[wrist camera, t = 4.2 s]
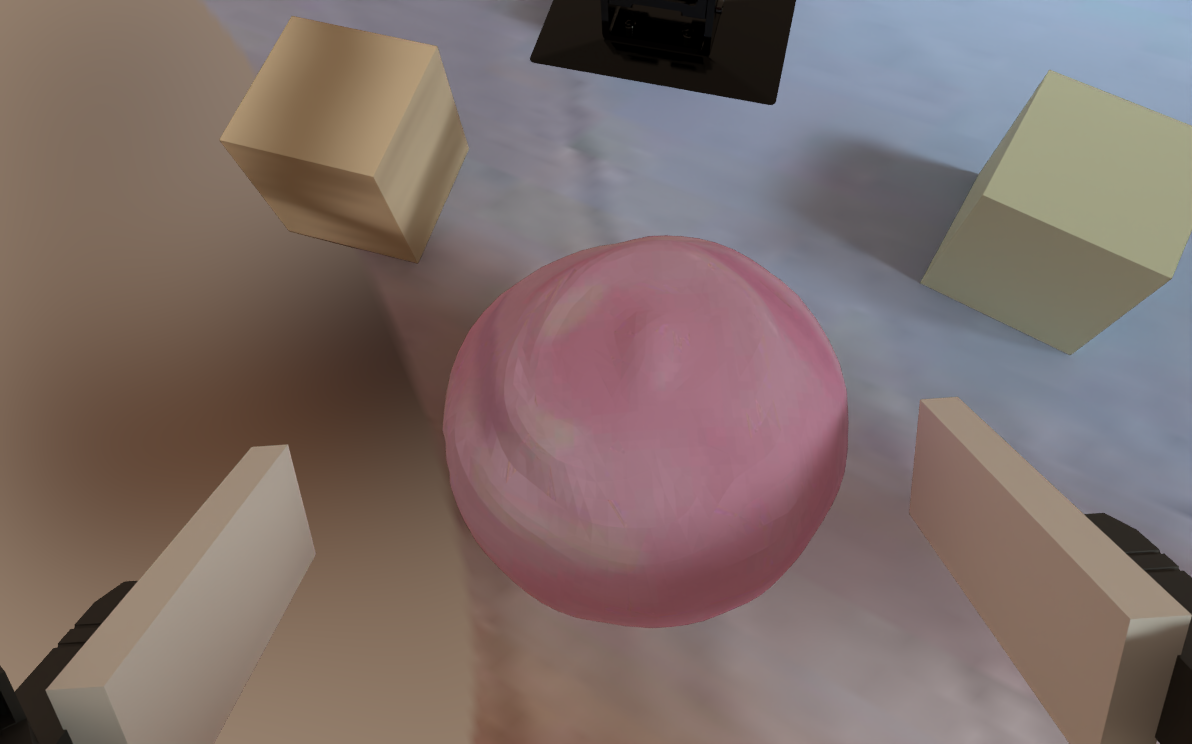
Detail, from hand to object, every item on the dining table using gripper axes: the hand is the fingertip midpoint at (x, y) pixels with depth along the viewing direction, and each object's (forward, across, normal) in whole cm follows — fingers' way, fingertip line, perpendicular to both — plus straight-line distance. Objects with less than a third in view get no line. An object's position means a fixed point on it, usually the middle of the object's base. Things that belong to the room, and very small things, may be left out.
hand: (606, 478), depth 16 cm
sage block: (+11, +14, +1) cm, 18 cm away
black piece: (+19, +3, +8) cm, 21 cm away
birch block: (+14, -8, +4) cm, 17 cm away
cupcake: (+6, +1, -4) cm, 7 cm away
